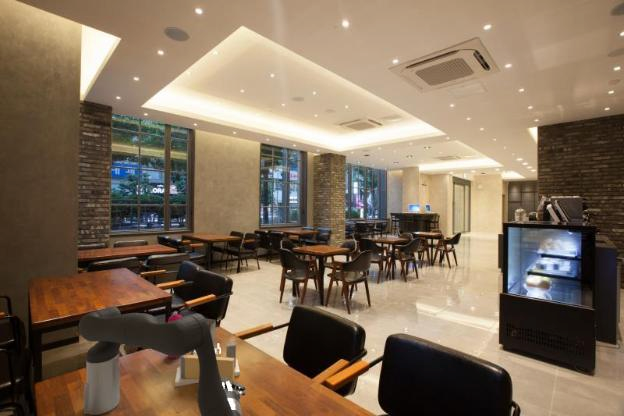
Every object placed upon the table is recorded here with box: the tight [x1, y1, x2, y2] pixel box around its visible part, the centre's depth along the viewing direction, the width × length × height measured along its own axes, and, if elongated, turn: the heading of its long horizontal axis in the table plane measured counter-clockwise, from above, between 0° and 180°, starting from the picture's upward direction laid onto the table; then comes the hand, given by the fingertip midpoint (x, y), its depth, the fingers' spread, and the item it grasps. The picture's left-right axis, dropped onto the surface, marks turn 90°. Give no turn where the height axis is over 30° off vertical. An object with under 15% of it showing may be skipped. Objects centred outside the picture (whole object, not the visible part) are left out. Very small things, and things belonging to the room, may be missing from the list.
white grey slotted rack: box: [174, 341, 241, 387], centre depth 123 cm, size 24×11×10 cm, turn 110°
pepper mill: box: [167, 311, 183, 359], centre depth 137 cm, size 7×7×20 cm
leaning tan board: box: [179, 353, 236, 382], centre depth 117 cm, size 21×3×8 cm, turn 85°
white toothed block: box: [193, 342, 222, 357], centre depth 125 cm, size 11×5×8 cm, turn 110°
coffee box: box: [190, 318, 217, 355], centre depth 136 cm, size 9×6×16 cm
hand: (224, 379), depth 107 cm, fingers closed
